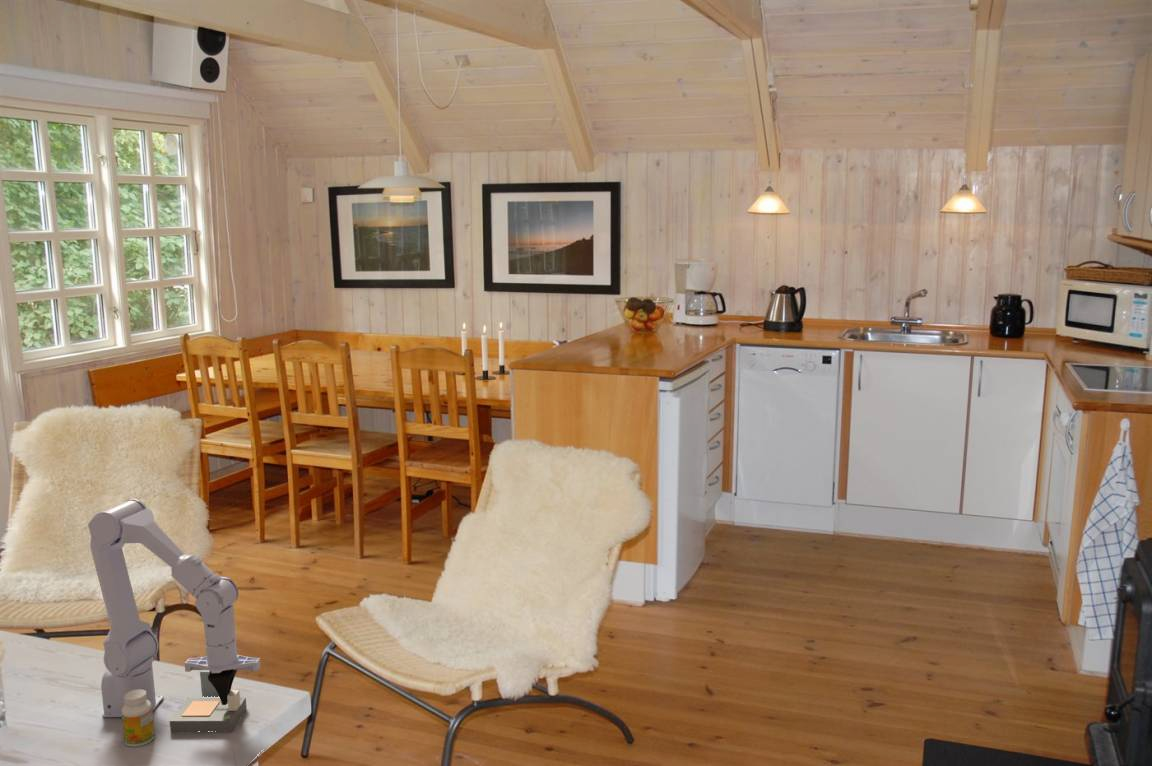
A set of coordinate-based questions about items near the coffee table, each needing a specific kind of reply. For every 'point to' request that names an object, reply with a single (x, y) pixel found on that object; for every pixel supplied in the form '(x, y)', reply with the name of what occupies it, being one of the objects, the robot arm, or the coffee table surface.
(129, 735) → the supplement bottle
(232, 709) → the lever
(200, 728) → the switch box
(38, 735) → the coffee table surface
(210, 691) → the block
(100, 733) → the coffee table surface
